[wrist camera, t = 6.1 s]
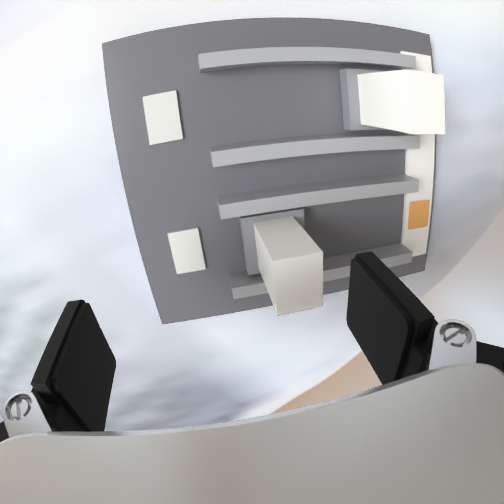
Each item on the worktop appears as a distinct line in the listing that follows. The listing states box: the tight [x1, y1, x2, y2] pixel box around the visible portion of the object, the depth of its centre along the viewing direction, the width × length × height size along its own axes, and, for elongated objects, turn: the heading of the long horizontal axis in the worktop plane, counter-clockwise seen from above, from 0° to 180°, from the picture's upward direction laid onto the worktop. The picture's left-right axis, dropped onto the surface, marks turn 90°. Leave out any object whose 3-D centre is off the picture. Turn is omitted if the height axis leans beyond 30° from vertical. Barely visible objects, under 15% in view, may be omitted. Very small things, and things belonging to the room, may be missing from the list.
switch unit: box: [102, 18, 436, 324], centre depth 16 cm, size 18×16×2 cm
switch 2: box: [339, 69, 445, 134], centre depth 12 cm, size 3×3×5 cm
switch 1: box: [239, 207, 323, 316], centre depth 15 cm, size 3×3×5 cm
